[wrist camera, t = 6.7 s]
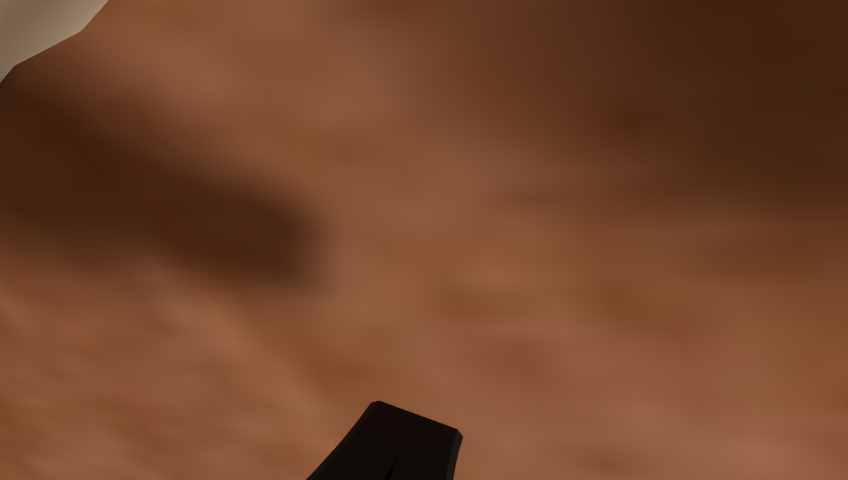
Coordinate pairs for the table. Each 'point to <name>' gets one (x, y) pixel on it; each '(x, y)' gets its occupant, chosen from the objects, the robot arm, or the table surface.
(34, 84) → the table surface
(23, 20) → the tan and green sponge
